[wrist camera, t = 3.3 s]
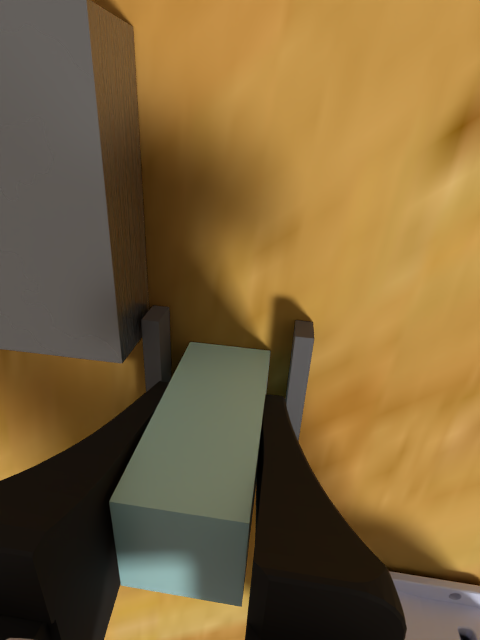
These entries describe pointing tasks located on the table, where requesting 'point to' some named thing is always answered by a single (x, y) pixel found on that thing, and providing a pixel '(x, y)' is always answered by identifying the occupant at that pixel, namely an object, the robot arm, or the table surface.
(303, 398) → the holster
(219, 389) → the plug
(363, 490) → the table surface
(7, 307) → the port panel
